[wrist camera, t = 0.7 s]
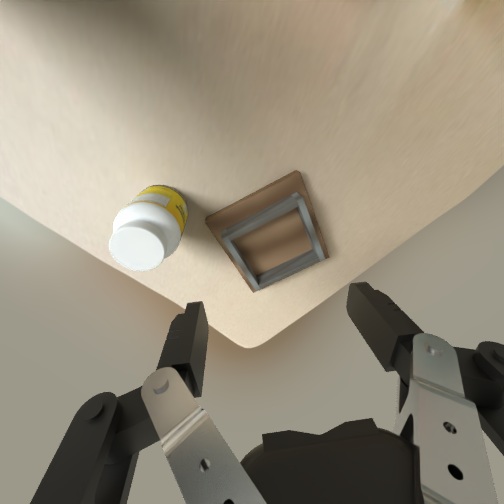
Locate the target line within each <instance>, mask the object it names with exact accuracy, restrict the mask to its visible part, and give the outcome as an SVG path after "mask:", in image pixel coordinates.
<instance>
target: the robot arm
mask: <svg viewBox="0 0 504 504" xmlns="http://www.w3.org/2000/svg"><path fill="white" fill-rule="evenodd" d="M347 312H348V315H349V317H350V318H351V320H352V321H353V323H354V324H355V326H356V327H357V329H358V330H359V332H360V333H361V335H362V336H363V338H364V339H365V341H366V342H367V344H368V345H369V347H370V348H371V350H372V351H373V353H374V354H375V356H376V357H377V359H378V360H379V362H380V363H381V365H382V366H383V368H384V369H385V371H386V372H389V371H397V373H398V374H399V377H398V387H397V405H396V420H395V425H394V430H393V433H392V432H390V431H388V430H385V429H381V428H377V426H376V425H375V422H374V421H373V419H372V418H369V419H362V420H356V421H349V422H345V423H343V424H341V425H339V426H337V427H335V428H333V429H331V430H330V431H328V432H326V433H324V434H321V435H316V434H310V433H303V432H297V431H291V430H288V431H281V432H274V433H267V434H262V437H263V443H262V444H260V445H259V446H257V447H255V448H254V449H253V450H251V451H250V452H249V453H248V454H247V455H246V456H245V457H244V458H243V459H242V461H241V462H239V461H238V459H237V458H236V456H235V455H234V453H233V452H232V450H231V449H230V447H229V446H228V444H227V443H226V441H225V440H224V438H223V437H222V435H221V434H220V432H219V431H218V429H217V428H216V426H215V425H214V423H213V421H212V420H211V419H210V417H209V415H208V414H207V413H206V411H205V410H204V409H201V407H200V406H199V405H198V403H197V402H196V400H195V398H196V397H201V395H202V386H203V376H204V369H205V360H206V351H207V342H208V331H209V330H208V321H207V317H206V313H205V309H204V305H203V302H202V301H200V302H192V303H187V306H186V310H185V313H184V314H178V315H177V316H176V317H175V319H174V320H173V321H172V322H171V326H170V329H169V333H168V335H167V340H166V341H165V344H164V347H163V350H162V354H161V357H160V360H159V363H158V366H157V369H156V371H155V372H153V373H152V374H151V375H150V376H149V377H148V378H147V379H146V381H145V382H144V384H143V386H141V387H139V388H137V389H135V390H133V391H131V392H128V393H126V394H124V395H121V396H119V397H116V396H115V394H113V393H111V392H103V393H100V394H98V395H96V396H94V397H92V398H91V399H89V400H88V401H87V402H85V403H84V404H83V405H82V406H81V408H80V409H79V410H78V411H77V413H76V415H75V416H74V418H73V420H72V422H71V424H70V426H69V428H68V430H67V432H66V434H65V436H64V438H63V440H62V442H61V444H60V446H59V448H58V450H57V452H56V454H55V455H54V458H53V459H52V461H51V463H50V465H49V467H48V469H47V471H46V473H45V475H44V477H43V479H42V481H41V483H40V485H39V487H38V489H37V491H36V493H35V495H34V497H33V499H32V501H31V503H30V504H127V500H128V496H129V491H130V488H131V483H132V479H133V475H134V471H135V467H136V463H137V459H138V455H139V451H140V450H142V449H144V448H146V447H148V446H150V445H152V444H153V443H155V442H157V441H159V440H161V443H162V448H163V451H164V453H165V456H166V458H167V460H168V463H169V465H170V467H171V470H172V472H173V474H174V477H175V479H176V481H177V484H178V486H179V488H180V491H181V493H182V495H183V498H184V500H185V502H186V504H498V500H497V496H496V491H495V487H494V483H493V478H492V474H491V469H490V465H489V460H488V456H487V452H486V448H485V443H484V439H483V434H482V430H483V431H484V432H485V433H486V434H487V436H488V437H489V438H490V439H491V441H492V442H493V443H494V444H495V446H496V447H497V448H498V449H499V451H500V452H501V453H502V454H503V456H504V345H502V344H499V343H496V342H490V341H485V342H481V343H480V344H479V345H478V347H477V348H476V350H473V349H466V348H459V347H452V346H451V345H450V344H449V343H448V342H447V341H445V340H444V339H442V338H440V337H438V336H435V335H432V334H427V333H424V332H423V331H422V330H421V329H420V328H419V327H418V326H417V325H416V324H415V323H414V322H413V321H412V320H411V319H410V318H409V317H408V316H407V315H406V314H405V313H404V312H403V311H402V310H401V309H400V308H399V307H398V306H397V305H396V304H395V303H394V302H393V301H392V300H391V299H390V298H389V297H388V296H387V295H386V294H384V293H382V292H380V291H379V290H374V289H373V288H372V287H371V286H370V285H369V284H368V283H367V282H359V283H351V284H350V286H349V292H348V299H347ZM481 428H482V430H481Z"/></svg>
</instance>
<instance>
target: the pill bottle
mask: <svg viewBox="0 0 504 504" xmlns="http://www.w3.org/2000/svg"><path fill="white" fill-rule="evenodd" d="M187 217H188V206H187V203H186V201H185V199H184V197H183V196H182V195H181V194H180V193H179V192H178V191H177V190H175V189H173V188H171V187H169V186H165V185H153V186H150V187H148V188H146V189H144V190H143V191H142V192H141V193H140V194H139V195H137V196H136V197H135V198H134V199H133V200H132V201H131V202H130V203H128V204H127V205H126V206H125V207H124V208H123V209H122V210H121V211H120V212H119V213H118V215H117V216H116V218H115V220H114V224H113V233H114V234H113V235H112V236H111V238H110V241H109V249H110V252H111V254H112V256H113V258H114V259H115V260H116V261H117V262H118V263H119V264H121V265H122V266H124V267H126V268H128V269H130V270H134V271H148V270H152V269H154V268H156V267H158V266H159V265H160V264H161V263H162V261H163V260H164V259H165V258H167V257H168V256H170V255H171V254H172V253H173V252H174V251H175V250H176V249H177V247H178V245H179V243H180V240H181V236H182V233H183V230H184V226H185V223H186V220H187Z"/></svg>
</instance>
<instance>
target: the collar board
mask: <svg viewBox="0 0 504 504" xmlns="http://www.w3.org/2000/svg"><path fill="white" fill-rule="evenodd" d="M206 224H207V225H208V227H209V228H210V230H211V231H212V233H213V234H214V236H215V237H216V239H217V240H218V242H219V243H220V245H221V246H222V248H223V249H224V250H225V252H226V253H227V255H228V256H229V258H230V259H231V261H232V262H233V264H234V265H235V267H236V268H237V270H238V271H239V273H240V274H241V276H242V277H243V279H244V280H245V281H246V283H247V284H248V286H249V287H250V289H251V290H252V292H253V293H254V292H256V291H258V290H260V289H262V288H265V287H267V286H269V285H271V284H273V283H275V282H277V281H279V280H282V279H284V278H286V277H288V276H290V275H292V274H294V273H297V272H299V271H301V270H303V269H305V268H307V267H309V266H312V265H314V264H316V263H318V262H320V261H322V260H324V259H327V258H329V255H328V252H327V249H326V247H325V244H324V241H323V238H322V235H321V232H320V229H319V227H318V224H317V221H316V218H315V215H314V212H313V209H312V207H311V204H310V201H309V198H308V195H307V192H306V189H305V187H304V184H303V181H302V178H301V175H300V172H298V171H294V172H292V173H290V174H288V175H286V176H284V177H282V178H281V179H279V180H277V181H275V182H273V183H271V184H269V185H267V186H265V187H264V188H262V189H260V190H258V191H256V192H254V193H252V194H250V195H249V196H247V197H245V198H243V199H241V200H239V201H237V202H235V203H233V204H232V205H230V206H228V207H226V208H224V209H222V210H220V211H218V212H217V213H215V214H213V215H211V216H209V217H207V218H206Z"/></svg>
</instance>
